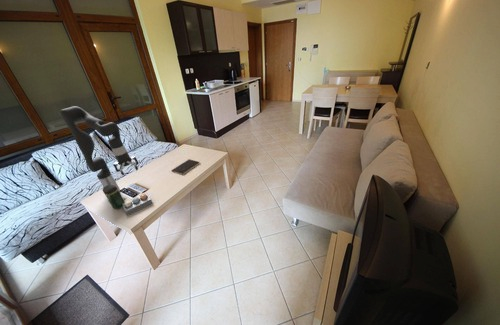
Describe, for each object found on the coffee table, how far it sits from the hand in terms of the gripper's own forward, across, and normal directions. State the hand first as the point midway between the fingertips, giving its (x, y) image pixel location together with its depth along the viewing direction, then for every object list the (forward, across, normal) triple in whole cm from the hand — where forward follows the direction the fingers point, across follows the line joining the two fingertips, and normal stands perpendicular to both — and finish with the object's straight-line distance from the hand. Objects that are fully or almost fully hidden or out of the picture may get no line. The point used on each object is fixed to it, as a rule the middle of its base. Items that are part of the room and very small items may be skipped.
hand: (130, 172), depth 136 cm
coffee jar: (+28, +16, -12) cm, 35 cm away
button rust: (+26, 0, 0) cm, 26 cm away
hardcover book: (+29, -46, -26) cm, 60 cm away
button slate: (+26, +5, 0) cm, 26 cm away
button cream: (+25, +10, 0) cm, 28 cm away
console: (+28, +5, 0) cm, 29 cm away
